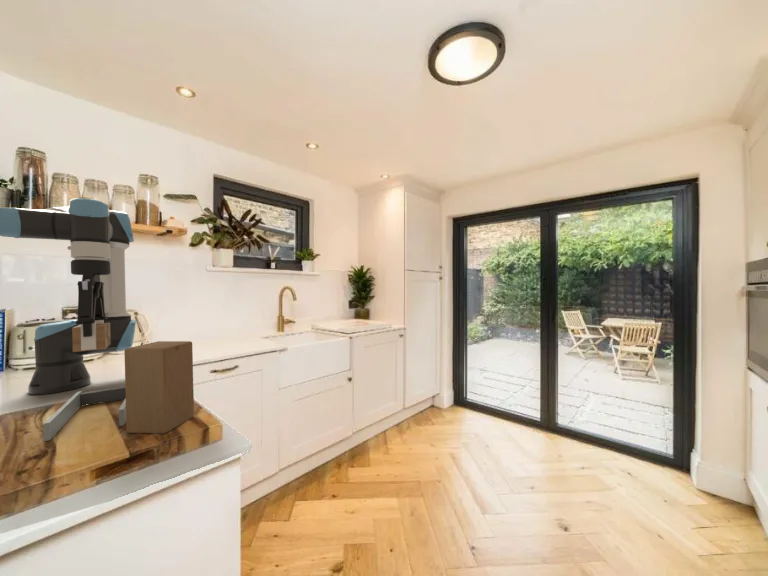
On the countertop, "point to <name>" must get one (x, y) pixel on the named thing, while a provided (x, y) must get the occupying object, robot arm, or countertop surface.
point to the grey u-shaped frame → (82, 399)
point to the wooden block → (158, 386)
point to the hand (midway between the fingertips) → (93, 346)
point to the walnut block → (101, 337)
